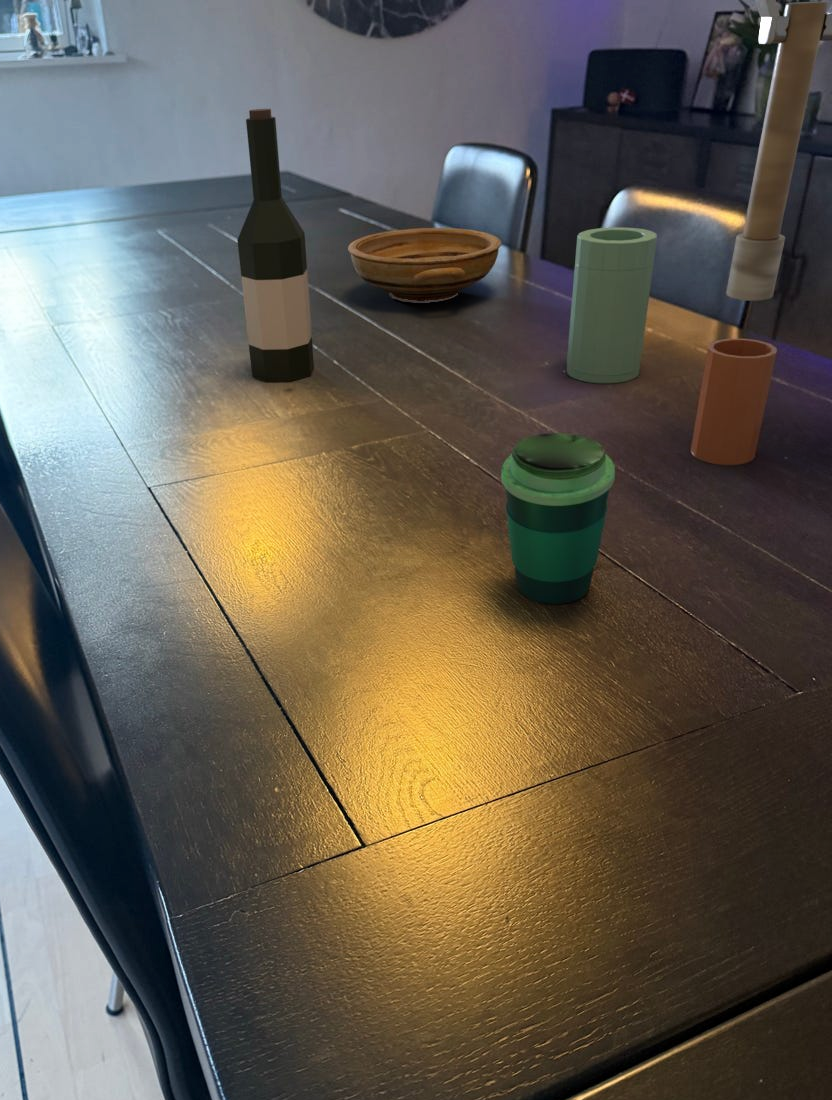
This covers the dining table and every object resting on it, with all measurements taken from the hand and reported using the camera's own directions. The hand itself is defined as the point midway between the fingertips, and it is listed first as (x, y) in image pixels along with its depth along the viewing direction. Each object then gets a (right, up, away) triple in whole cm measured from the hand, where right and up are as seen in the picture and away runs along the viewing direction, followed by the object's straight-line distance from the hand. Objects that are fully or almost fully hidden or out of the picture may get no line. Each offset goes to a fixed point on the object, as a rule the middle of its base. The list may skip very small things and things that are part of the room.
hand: (797, 42), depth 73 cm
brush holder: (+2, -29, +19) cm, 35 cm away
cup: (-20, -44, 0) cm, 48 cm away
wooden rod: (+1, -16, +11) cm, 19 cm away
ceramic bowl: (-24, +9, +78) cm, 82 cm away
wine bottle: (-44, -12, +48) cm, 67 cm away
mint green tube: (-4, -14, +42) cm, 45 cm away
